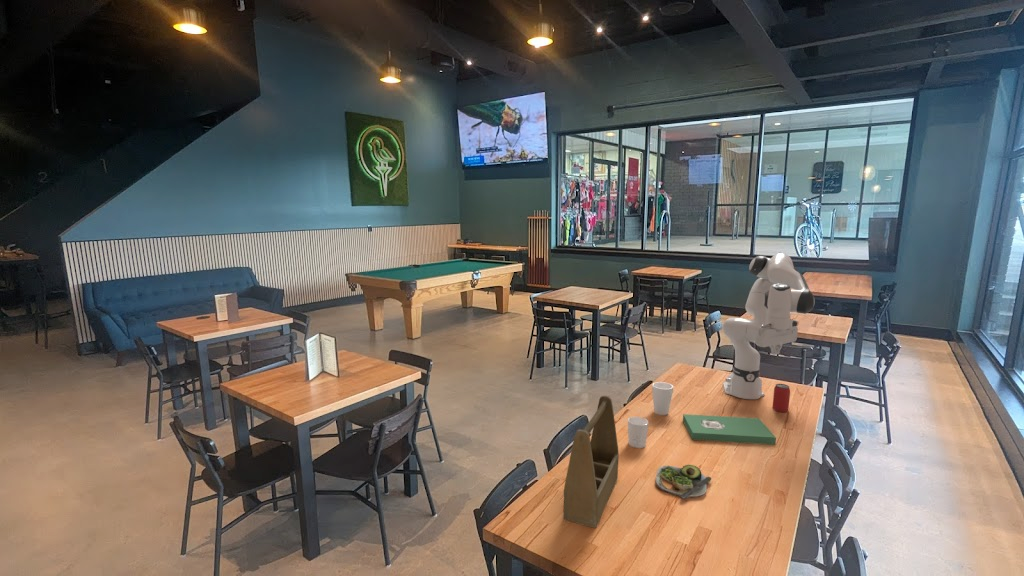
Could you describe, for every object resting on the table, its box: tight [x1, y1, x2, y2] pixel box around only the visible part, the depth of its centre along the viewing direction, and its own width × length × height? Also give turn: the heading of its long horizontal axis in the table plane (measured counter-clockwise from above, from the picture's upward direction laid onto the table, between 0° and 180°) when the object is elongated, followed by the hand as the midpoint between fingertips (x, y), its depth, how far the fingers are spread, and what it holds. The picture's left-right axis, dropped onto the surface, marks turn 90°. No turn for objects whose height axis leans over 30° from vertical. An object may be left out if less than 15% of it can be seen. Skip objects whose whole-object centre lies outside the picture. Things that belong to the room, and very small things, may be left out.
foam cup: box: [651, 381, 674, 416], centre depth 220 cm, size 10×9×13 cm
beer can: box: [772, 383, 791, 413], centre depth 222 cm, size 7×7×12 cm
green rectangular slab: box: [682, 413, 777, 445], centre depth 201 cm, size 18×32×3 cm, turn 82°
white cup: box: [627, 416, 649, 449], centre depth 190 cm, size 8×8×10 cm
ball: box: [709, 422, 719, 427], centre depth 201 cm, size 4×4×4 cm
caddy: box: [562, 395, 620, 529], centre depth 152 cm, size 29×11×30 cm, turn 155°
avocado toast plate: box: [655, 464, 712, 500], centre depth 161 cm, size 19×18×5 cm
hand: (775, 354), depth 202 cm, fingers closed
